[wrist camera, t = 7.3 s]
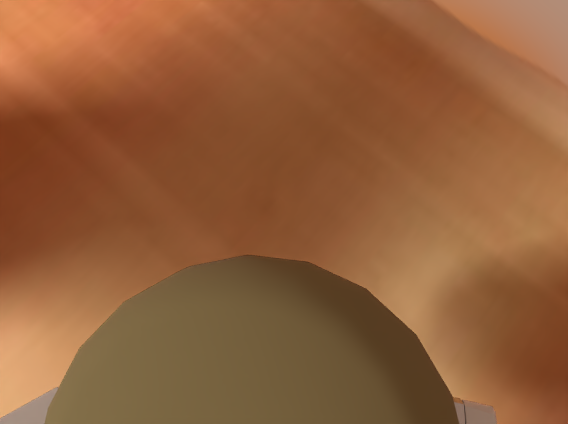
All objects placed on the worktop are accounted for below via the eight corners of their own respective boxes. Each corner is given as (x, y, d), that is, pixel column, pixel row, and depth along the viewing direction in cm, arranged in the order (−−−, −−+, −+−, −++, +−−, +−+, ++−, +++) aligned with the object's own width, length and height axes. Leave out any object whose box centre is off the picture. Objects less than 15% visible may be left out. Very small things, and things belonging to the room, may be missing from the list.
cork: (327, 244, 16) (279, 87, 5) (454, 403, 15) (735, 618, 4) (178, 359, 16) (-170, 432, 5) (292, 533, 14) (126, 1130, 4)
